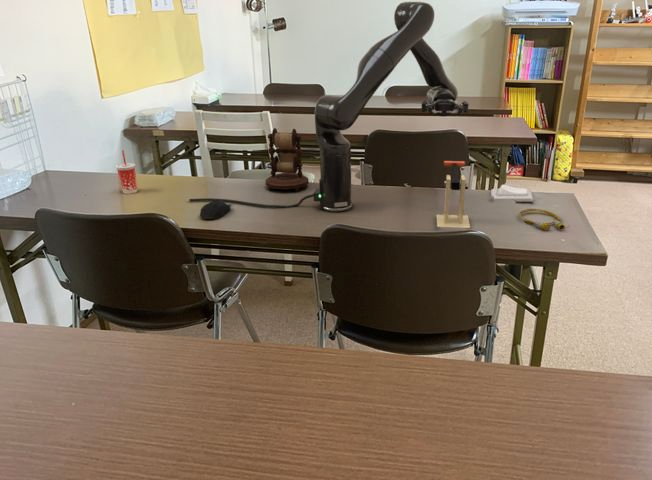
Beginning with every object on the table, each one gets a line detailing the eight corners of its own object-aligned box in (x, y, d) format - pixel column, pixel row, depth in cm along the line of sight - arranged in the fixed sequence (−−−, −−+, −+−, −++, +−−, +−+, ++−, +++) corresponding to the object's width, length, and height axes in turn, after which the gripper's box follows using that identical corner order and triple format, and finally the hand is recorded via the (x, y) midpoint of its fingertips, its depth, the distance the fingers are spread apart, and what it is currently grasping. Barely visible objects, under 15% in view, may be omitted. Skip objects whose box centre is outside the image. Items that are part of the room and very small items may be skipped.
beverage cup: (135, 194, 186) (128, 152, 180) (117, 194, 186) (109, 152, 180) (142, 188, 191) (135, 148, 186) (124, 189, 192) (117, 148, 186)
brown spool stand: (313, 181, 198) (310, 124, 189) (302, 194, 185) (299, 133, 176) (273, 180, 200) (269, 123, 192) (260, 192, 187) (255, 132, 179)
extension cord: (518, 229, 154) (518, 222, 154) (517, 211, 168) (518, 204, 167) (564, 233, 152) (565, 226, 151) (560, 214, 165) (561, 207, 165)
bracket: (436, 218, 163) (438, 172, 157) (467, 219, 162) (471, 172, 156) (437, 230, 154) (439, 182, 148) (470, 231, 153) (474, 182, 147)
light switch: (491, 181, 185) (531, 181, 182) (490, 193, 187) (530, 193, 184) (491, 191, 175) (533, 191, 173) (491, 203, 177) (533, 203, 174)
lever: (443, 165, 163) (444, 158, 161) (464, 166, 162) (465, 158, 161) (444, 189, 153) (444, 182, 151) (466, 190, 152) (467, 182, 151)
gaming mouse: (239, 206, 174) (238, 193, 173) (214, 221, 161) (213, 208, 160) (221, 204, 176) (220, 191, 174) (195, 219, 163) (194, 206, 162)
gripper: (422, 90, 180) (421, 97, 166) (466, 90, 179) (470, 97, 164) (421, 113, 183) (420, 123, 169) (464, 114, 182) (468, 123, 167)
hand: (445, 110), depth 166 cm, fingers open, 8 cm apart
